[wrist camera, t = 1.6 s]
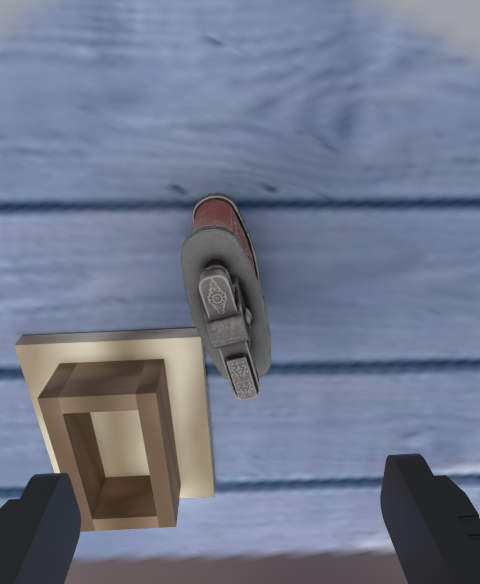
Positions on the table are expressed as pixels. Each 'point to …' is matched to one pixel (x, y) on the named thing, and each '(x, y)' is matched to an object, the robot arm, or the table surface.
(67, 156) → the table surface
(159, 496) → the wooden box with base
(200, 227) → the lighter
